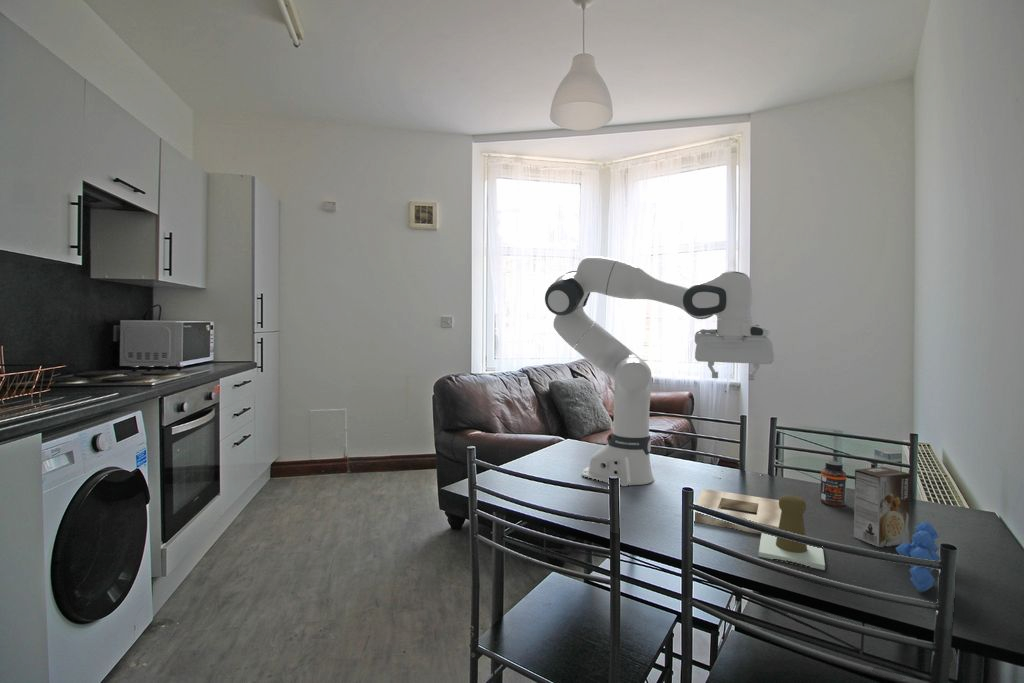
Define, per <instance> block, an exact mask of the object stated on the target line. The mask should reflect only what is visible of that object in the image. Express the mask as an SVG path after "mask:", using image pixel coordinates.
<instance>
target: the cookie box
mask: <svg viewBox="0 0 1024 683" xmlns="http://www.w3.org/2000/svg"><path fill="white" fill-rule="evenodd" d="M910 505H911V473H909V472H905V471H903V470H901V471H900V470H898V469H894V468H890V467H886V466H880V467H879V466H878V467H876V466H875V467H868V468H860V469H859V468H858V469H854V507H853V508H854V511H853V512H854V516H853V518H854V520H853V522H854V523H853V538H856V539H858V540H860V541H862V542H865V543H867V544H870V545H871V544H872V546H874V545H875V546H874V547H876V546H878V547H881V548H884V547H883V546H887V547H893V546H899V545H901V544H902V543H909V544H910V511H911V510H910V507H911V506H910ZM892 545H893V546H892ZM878 547H877V548H878Z"/></svg>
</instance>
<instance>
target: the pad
mask: <svg viewBox="0 0 1024 683" xmlns="http://www.w3.org/2000/svg"><path fill="white" fill-rule="evenodd" d="M776 539H777V537H775V536H771V535H768V534H764V533H762V534H760V541H759V548H758V558H759V557H760V558H764V559H769V560H773V559H781V560H785V561H786V560H788V561H792V562H797V563H801V564H804V565H806V566H805V567H807V566H810V567H809V568H812V569H813V568H814V569H817V570H822V571H825V570H826V563H825V555H824V548H823V549H822V548H817V547H813V546H809V545H807V551H806V552H804V553H793V552H788V551H785V550H782V549H780V548H779V547H777V546H776Z"/></svg>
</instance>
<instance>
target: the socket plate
mask: <svg viewBox="0 0 1024 683" xmlns="http://www.w3.org/2000/svg"><path fill="white" fill-rule="evenodd" d="M694 505H699V506H704V507H707V508H711V509H715V510H718V511H721V512H724V513H728V514H731V515H735V516H738V517H742V518H745V519H747V520H751V521H754V522H757V523H761V524H764V525H768V526H771V527H775V528H779V522H780V516H781V511H782V510H781V509H780V507H779V499H773V498H767V497H761V496H760V497H759V496H752V495H746V494H739V493H736V492H735V493H733V492H727V491H723V490H722V491H720V490H716V489H715V490H714V489H710V488H702V490H701V492H700V494H699V496H698V498H697V500H696V501H695V503H694ZM723 508H725V509H723ZM729 509H732V510H729ZM736 510H737V511H736ZM738 510H739V511H738ZM741 511H744V512H741ZM747 512H750V513H747ZM755 512H756V514H753V513H755ZM698 522H699V524H705V525H709V524H710V526H714V525H715V526H716V527H721V528H725V527H728V528H727V529H730V527H731V528H734V529H733V530H736V529H737V530H736V531H741V530H742V531H743V532H747V533H752V534H758V535H761V534H762V533H760V532H756V531H753V530H750V529H747V528H744V527H741V526H738V525H735V524H732V523H729V522H726V521H723V520H719V519H716V518H713V517H711V516H708V515H704V514H701V513H698V512H695V522H694V523H698ZM715 526H714V527H715Z"/></svg>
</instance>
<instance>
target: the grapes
mask: <svg viewBox="0 0 1024 683" xmlns="http://www.w3.org/2000/svg"><path fill="white" fill-rule="evenodd" d="M914 530H915V532H916V533H914V534H913V535H912V536H911V538H912V539H911V540H910V541H911V543H910V542H909V543H902V544H899V545H897V547H895V550H896V552H897V553H898V555H899V556H900V555H904V556H909V557H914V558H921V559H928V560H935V561H939V560H940V559H941V557H940V556H939V555H938V554H937V551H939V548H938V546H937V544H935V543H936V541H935V540H936V539H938V538H939V535H938V532H937V531H936V529H935V527H933V525H932V524H931V523H929V522H928V521H922V522H920V523H919V524H917V525H916V526H915V527H914ZM909 566H910V569H908V571H909V572H910V574H911V577H910V578H909V580H910V581H911V583H912V584H913V586H914V588H915V589H917V590H918V591H920V592H922V593H923V592H926V591H928V590H930V589H931V588H932V587H933V586H934V583H935V582H936V580H935V578H934V577H933V575H932V572H933V571H934V570H935V569H931V568H926V567H919V566H911V565H909Z"/></svg>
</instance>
